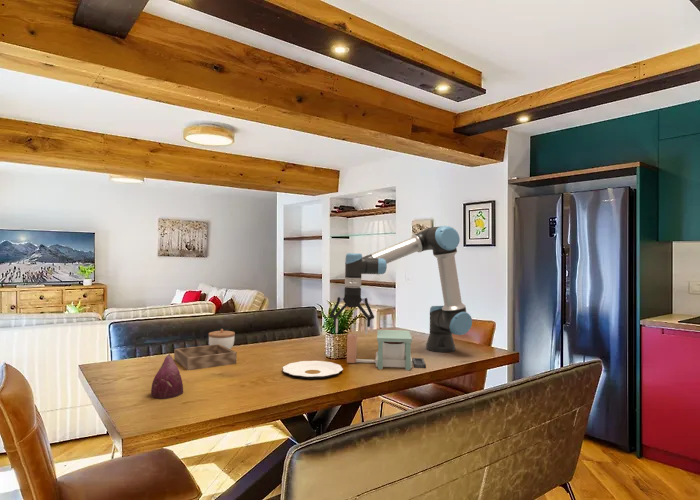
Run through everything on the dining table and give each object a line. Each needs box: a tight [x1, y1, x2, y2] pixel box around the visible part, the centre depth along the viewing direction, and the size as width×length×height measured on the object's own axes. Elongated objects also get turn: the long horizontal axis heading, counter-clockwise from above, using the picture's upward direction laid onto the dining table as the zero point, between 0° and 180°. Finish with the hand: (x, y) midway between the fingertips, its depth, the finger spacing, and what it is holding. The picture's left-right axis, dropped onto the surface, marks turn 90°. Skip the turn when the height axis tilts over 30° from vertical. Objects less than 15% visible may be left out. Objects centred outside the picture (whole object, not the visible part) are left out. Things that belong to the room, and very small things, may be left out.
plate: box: [282, 360, 344, 379], centre depth 191 cm, size 25×25×2 cm
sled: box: [346, 333, 413, 369], centre depth 208 cm, size 29×16×12 cm, turn 86°
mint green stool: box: [376, 329, 413, 371], centre depth 207 cm, size 15×21×14 cm
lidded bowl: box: [208, 328, 236, 350], centre depth 227 cm, size 13×13×11 cm
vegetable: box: [150, 353, 184, 400], centre depth 160 cm, size 10×10×15 cm
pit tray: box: [411, 357, 427, 369], centre depth 206 cm, size 5×12×2 cm, turn 176°
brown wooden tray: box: [173, 344, 237, 371], centre depth 205 cm, size 21×21×5 cm
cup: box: [383, 342, 405, 360], centre depth 207 cm, size 10×10×10 cm
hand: (351, 333), depth 208 cm, fingers open, 13 cm apart
